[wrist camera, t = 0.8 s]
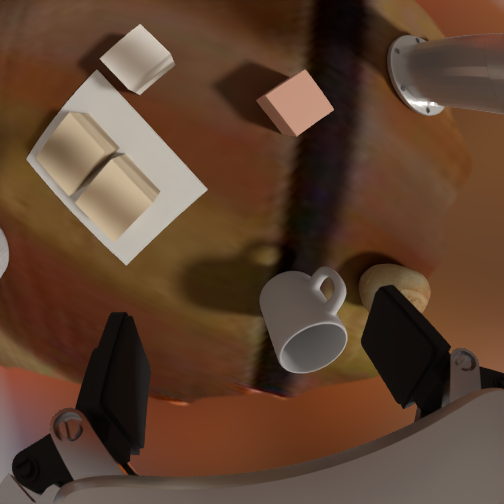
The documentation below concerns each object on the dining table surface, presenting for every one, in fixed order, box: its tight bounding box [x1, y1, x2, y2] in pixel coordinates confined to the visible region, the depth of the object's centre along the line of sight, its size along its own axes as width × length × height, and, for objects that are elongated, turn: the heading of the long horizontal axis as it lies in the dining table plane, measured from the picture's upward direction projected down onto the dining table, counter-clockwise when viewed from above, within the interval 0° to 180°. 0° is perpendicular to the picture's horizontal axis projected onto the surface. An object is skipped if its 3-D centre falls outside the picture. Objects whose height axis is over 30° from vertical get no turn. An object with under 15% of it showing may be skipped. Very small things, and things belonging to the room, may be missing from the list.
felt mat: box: [26, 70, 207, 265], centre depth 26 cm, size 14×20×1 cm
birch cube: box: [100, 25, 175, 95], centre depth 20 cm, size 5×5×5 cm
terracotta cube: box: [256, 70, 334, 136], centre depth 25 cm, size 5×5×5 cm
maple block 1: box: [36, 112, 120, 196], centre depth 22 cm, size 6×6×5 cm
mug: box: [259, 266, 347, 373], centre depth 33 cm, size 12×8×11 cm
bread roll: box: [358, 264, 431, 313], centre depth 38 cm, size 10×15×8 cm, turn 72°
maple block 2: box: [75, 154, 160, 243], centre depth 26 cm, size 6×6×5 cm
